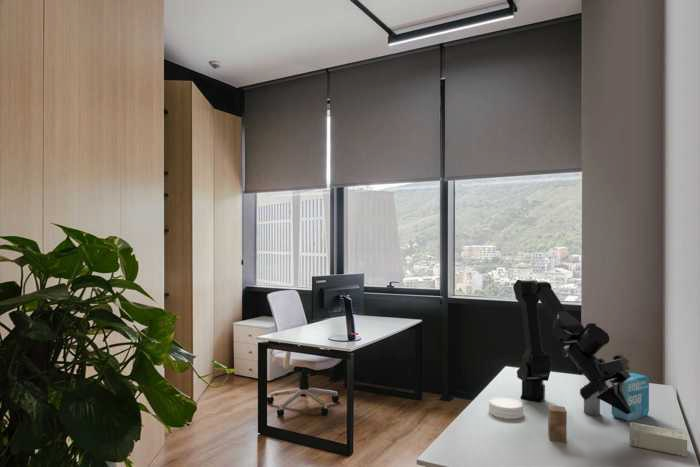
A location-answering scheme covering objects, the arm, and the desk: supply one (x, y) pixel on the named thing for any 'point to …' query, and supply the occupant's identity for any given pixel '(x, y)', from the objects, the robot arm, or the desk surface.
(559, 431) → the walnut block
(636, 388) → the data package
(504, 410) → the coaster
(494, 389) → the desk surface
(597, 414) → the grey cylinder
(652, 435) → the skincare box
